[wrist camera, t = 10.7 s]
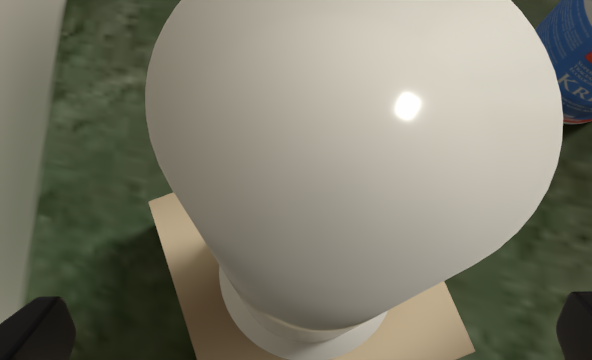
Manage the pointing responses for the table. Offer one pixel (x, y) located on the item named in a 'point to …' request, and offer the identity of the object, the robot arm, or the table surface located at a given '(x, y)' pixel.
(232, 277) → the white flanged cylinder
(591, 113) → the pill bottle
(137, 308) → the table surface
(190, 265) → the oak box
